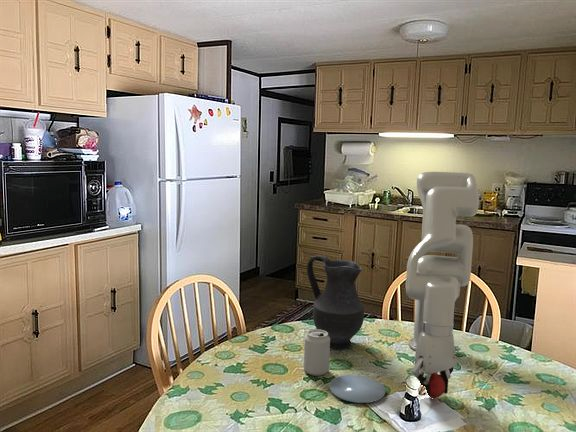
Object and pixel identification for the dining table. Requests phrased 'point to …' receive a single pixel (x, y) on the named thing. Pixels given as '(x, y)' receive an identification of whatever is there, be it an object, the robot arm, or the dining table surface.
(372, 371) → the dining table surface
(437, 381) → the onion
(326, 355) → the can
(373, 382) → the plate
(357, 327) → the pitcher
